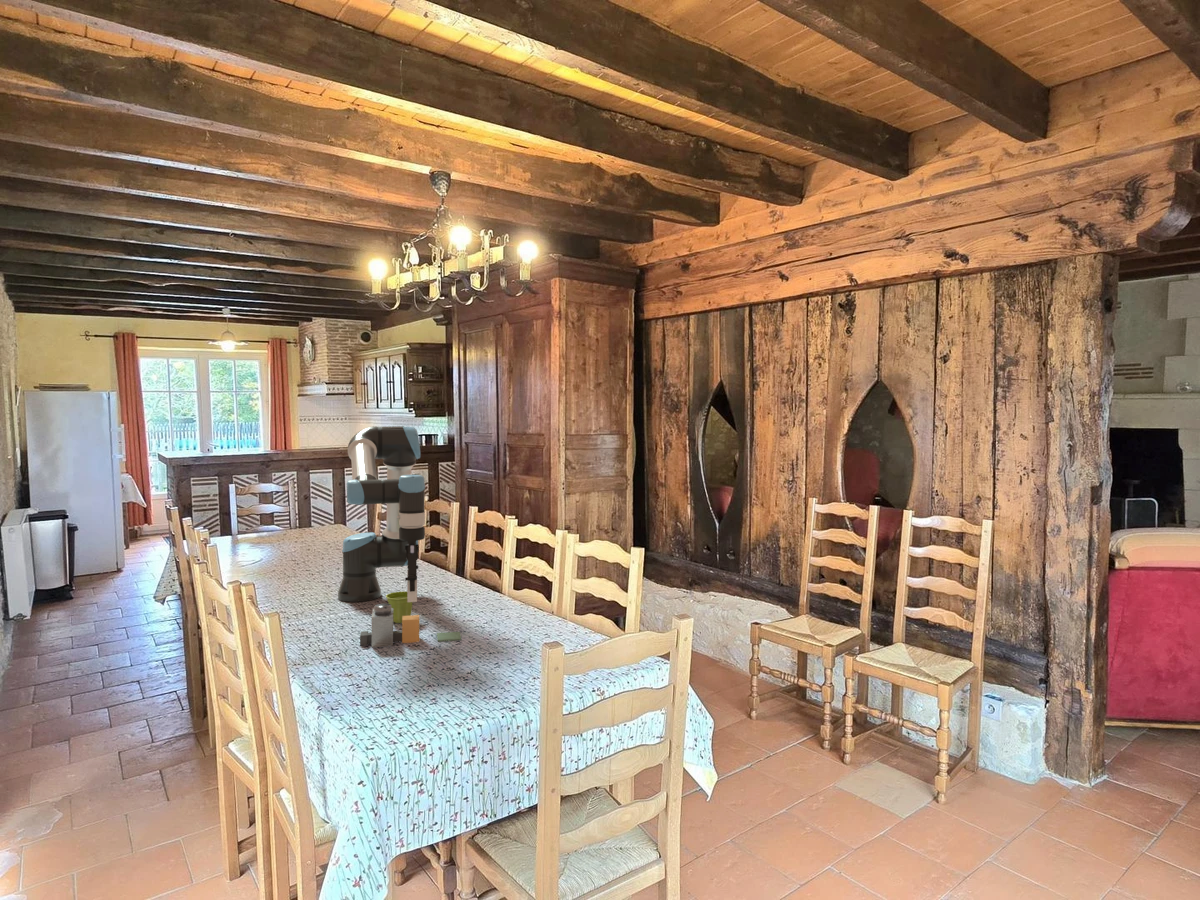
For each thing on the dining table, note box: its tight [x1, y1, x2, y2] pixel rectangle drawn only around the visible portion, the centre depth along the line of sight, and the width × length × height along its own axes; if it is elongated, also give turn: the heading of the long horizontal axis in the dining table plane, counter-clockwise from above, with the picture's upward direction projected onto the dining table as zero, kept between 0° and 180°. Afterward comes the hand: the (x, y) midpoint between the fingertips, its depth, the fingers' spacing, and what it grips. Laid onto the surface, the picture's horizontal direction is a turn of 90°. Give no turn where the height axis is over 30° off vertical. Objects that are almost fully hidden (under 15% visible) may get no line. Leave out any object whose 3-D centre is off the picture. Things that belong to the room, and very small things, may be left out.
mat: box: [436, 631, 462, 643], centre depth 218 cm, size 7×7×1 cm
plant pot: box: [385, 590, 414, 624], centre depth 234 cm, size 9×9×9 cm
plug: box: [359, 614, 420, 647], centre depth 213 cm, size 4×17×7 cm, turn 104°
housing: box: [371, 603, 394, 648], centre depth 212 cm, size 9×6×11 cm
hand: (412, 596), depth 214 cm, fingers open, 13 cm apart
